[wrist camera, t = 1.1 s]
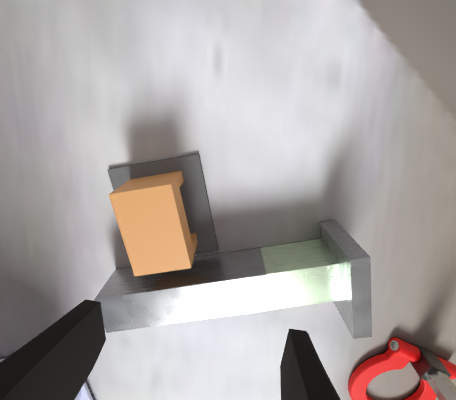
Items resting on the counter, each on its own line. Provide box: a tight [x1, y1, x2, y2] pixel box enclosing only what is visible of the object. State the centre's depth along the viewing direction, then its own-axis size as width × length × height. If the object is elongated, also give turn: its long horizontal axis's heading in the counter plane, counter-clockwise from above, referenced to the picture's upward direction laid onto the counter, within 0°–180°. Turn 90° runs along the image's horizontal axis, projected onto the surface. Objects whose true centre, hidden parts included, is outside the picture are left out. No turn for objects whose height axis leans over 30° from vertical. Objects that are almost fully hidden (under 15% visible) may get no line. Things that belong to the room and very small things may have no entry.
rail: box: [94, 220, 372, 339], centre depth 21 cm, size 19×6×6 cm, turn 100°
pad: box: [108, 154, 218, 253], centre depth 22 cm, size 7×8×1 cm
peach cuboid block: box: [109, 171, 198, 276], centre depth 20 cm, size 4×6×4 cm, turn 10°
